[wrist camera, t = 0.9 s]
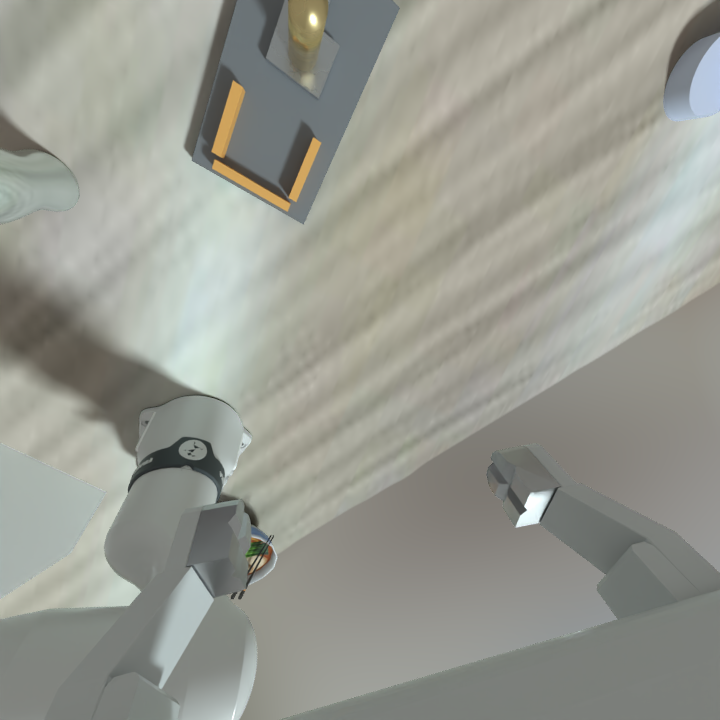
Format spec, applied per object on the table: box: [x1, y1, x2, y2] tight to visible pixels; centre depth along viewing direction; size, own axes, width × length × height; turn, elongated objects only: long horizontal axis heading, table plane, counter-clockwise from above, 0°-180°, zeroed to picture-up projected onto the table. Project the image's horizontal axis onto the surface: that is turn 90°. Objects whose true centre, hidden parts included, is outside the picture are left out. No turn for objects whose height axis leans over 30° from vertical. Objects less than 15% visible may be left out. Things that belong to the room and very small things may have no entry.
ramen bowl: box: [231, 525, 277, 599], centre depth 68 cm, size 25×23×8 cm
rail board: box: [192, 0, 400, 224], centre depth 33 cm, size 24×14×4 cm, turn 150°
